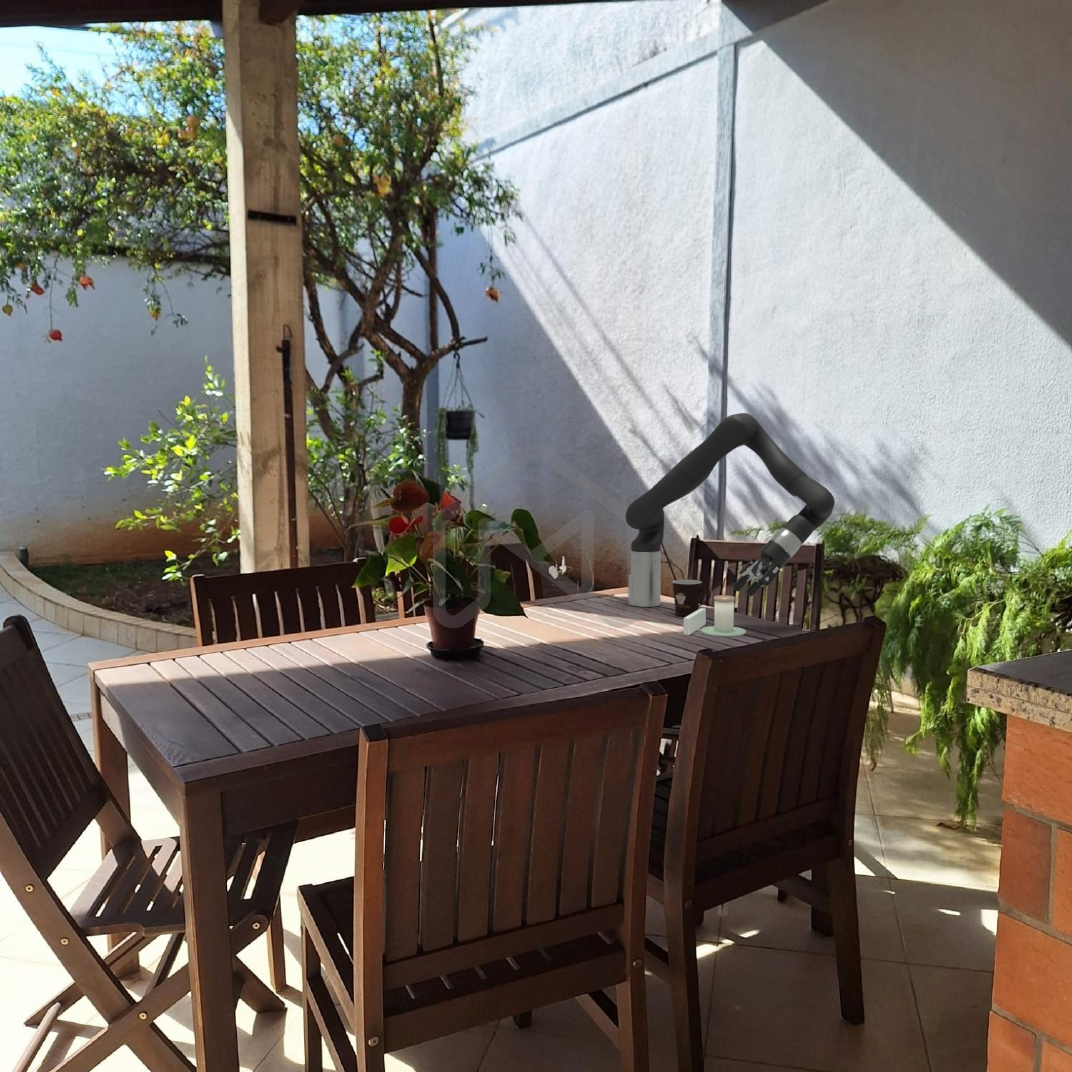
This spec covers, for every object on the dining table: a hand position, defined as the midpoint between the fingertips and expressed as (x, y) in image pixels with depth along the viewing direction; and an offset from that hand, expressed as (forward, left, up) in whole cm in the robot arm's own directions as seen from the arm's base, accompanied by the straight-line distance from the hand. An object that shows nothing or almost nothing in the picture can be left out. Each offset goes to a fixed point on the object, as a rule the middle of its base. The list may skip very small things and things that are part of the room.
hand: (741, 591), depth 263 cm
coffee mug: (-19, +15, -11) cm, 27 cm away
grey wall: (-12, -3, -11) cm, 17 cm away
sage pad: (-4, -3, -11) cm, 12 cm away
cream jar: (-4, -3, -10) cm, 12 cm away
